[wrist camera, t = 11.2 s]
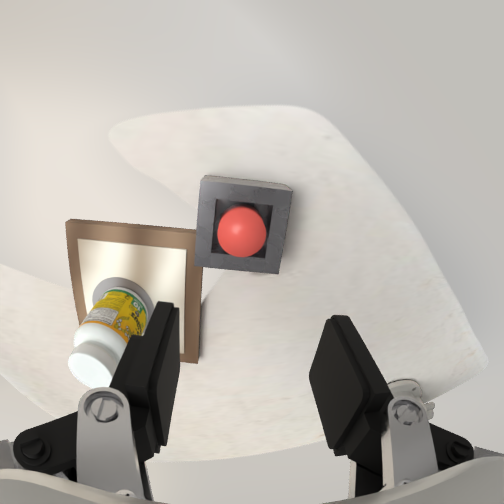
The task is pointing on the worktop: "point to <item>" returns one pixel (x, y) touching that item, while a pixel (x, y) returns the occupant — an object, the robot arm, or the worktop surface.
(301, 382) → the worktop surface
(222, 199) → the button housing
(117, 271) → the brown bordered square board
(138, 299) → the supplement bottle
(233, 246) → the button
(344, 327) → the robot arm
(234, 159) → the worktop surface
